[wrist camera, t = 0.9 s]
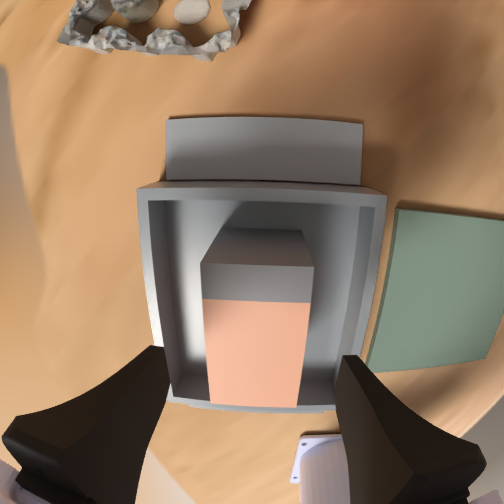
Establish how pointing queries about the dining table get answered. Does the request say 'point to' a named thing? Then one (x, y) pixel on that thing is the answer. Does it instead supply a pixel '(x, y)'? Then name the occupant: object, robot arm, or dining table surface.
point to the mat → (439, 291)
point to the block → (256, 315)
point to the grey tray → (261, 217)
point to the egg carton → (158, 42)
